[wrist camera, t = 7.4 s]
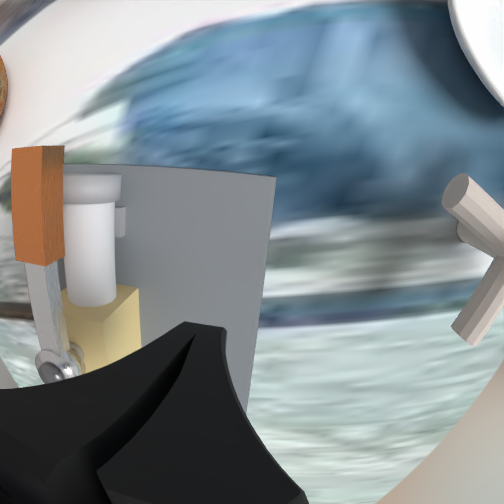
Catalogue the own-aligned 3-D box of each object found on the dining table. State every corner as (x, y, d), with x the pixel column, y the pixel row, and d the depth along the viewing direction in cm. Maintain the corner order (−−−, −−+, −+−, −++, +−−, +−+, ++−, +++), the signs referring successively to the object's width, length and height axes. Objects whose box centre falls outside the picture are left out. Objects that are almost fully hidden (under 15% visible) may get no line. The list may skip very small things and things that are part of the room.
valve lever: (90, 384, 13) (75, 404, 12) (54, 371, 14) (37, 389, 12) (70, 145, 10) (42, 145, 9) (29, 148, 10) (2, 149, 9)
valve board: (243, 428, 21) (233, 495, 15) (79, 389, 22) (42, 436, 16) (276, 176, 16) (274, 184, 10) (55, 163, 17) (-16, 172, 11)
